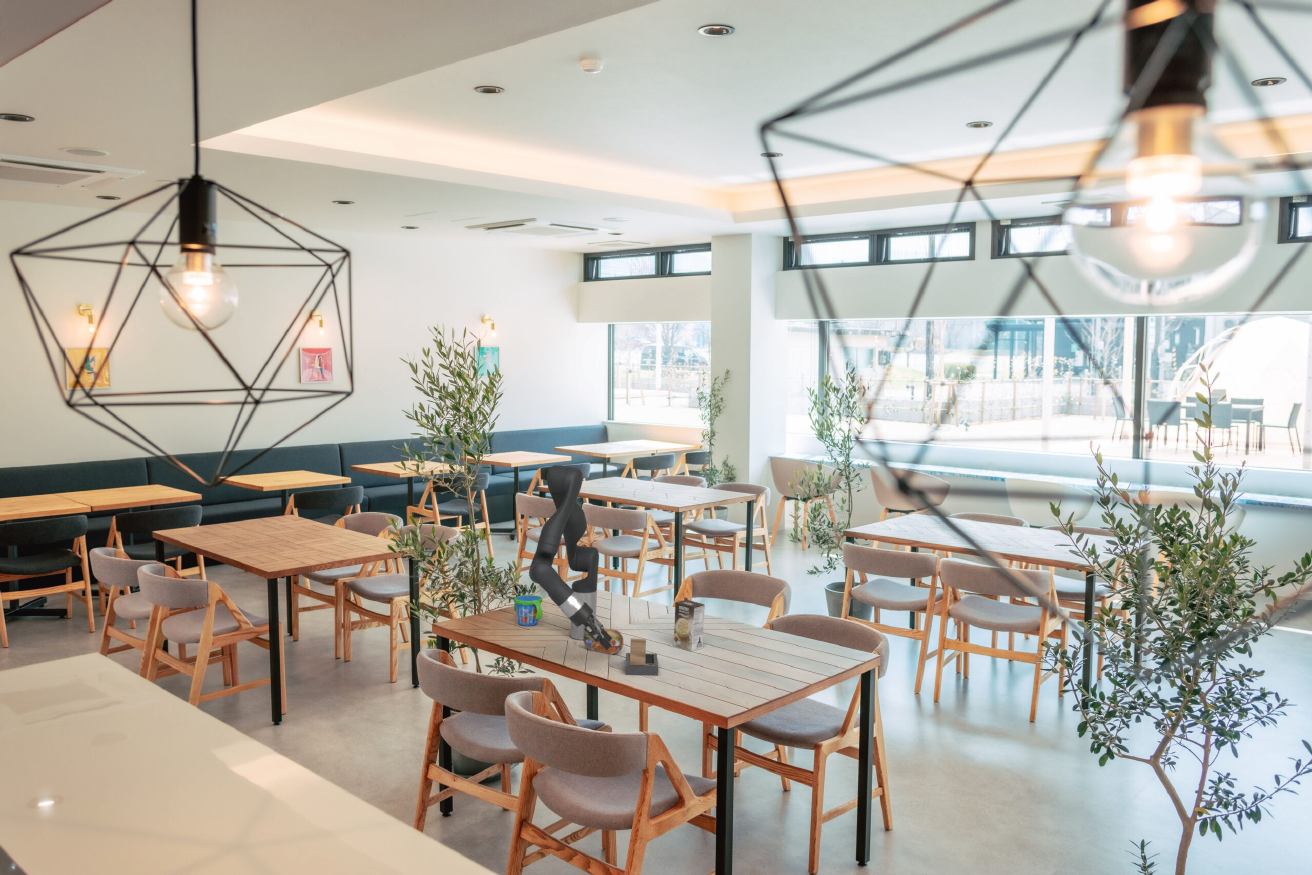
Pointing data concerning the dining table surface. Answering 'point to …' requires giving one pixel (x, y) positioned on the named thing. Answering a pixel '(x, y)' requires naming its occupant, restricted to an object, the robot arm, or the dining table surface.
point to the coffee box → (689, 625)
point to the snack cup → (528, 609)
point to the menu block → (637, 651)
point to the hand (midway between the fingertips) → (609, 644)
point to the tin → (615, 642)
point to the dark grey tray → (643, 666)
